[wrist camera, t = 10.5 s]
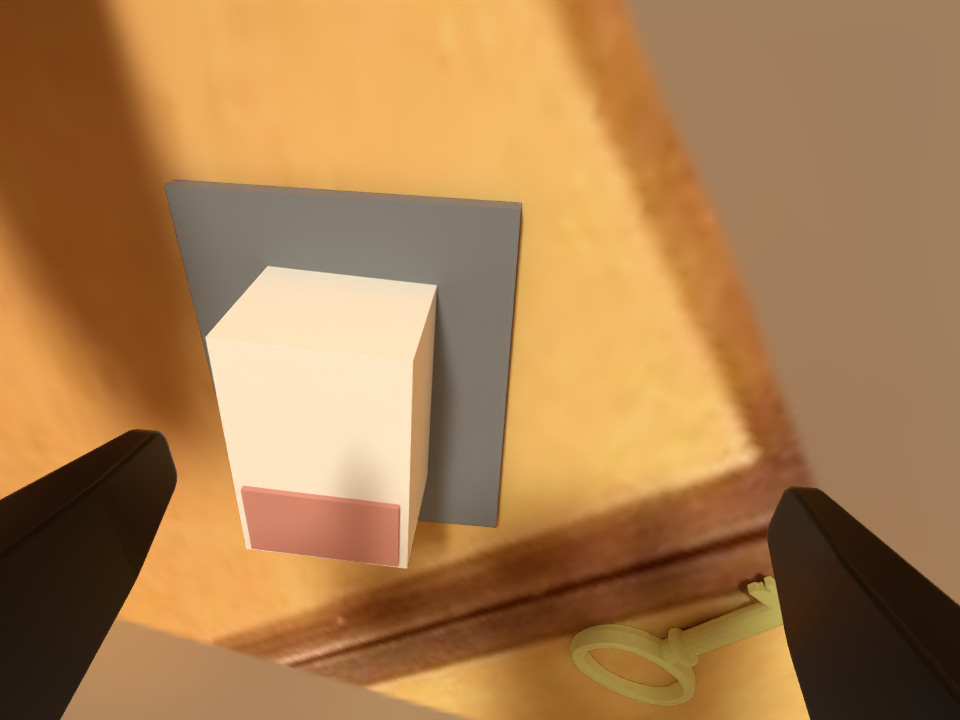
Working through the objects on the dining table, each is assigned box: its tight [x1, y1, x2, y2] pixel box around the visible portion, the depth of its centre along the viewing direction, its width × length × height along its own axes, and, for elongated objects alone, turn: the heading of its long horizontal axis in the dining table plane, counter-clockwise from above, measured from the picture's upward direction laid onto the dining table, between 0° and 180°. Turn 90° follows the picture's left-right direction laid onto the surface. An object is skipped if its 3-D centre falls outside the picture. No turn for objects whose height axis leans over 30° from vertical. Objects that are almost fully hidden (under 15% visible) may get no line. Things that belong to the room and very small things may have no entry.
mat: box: [164, 180, 521, 528], centre depth 23 cm, size 14×11×1 cm
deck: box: [205, 266, 437, 569], centre depth 21 cm, size 6×9×5 cm, turn 175°
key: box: [570, 576, 783, 706], centre depth 29 cm, size 7×12×2 cm, turn 159°
